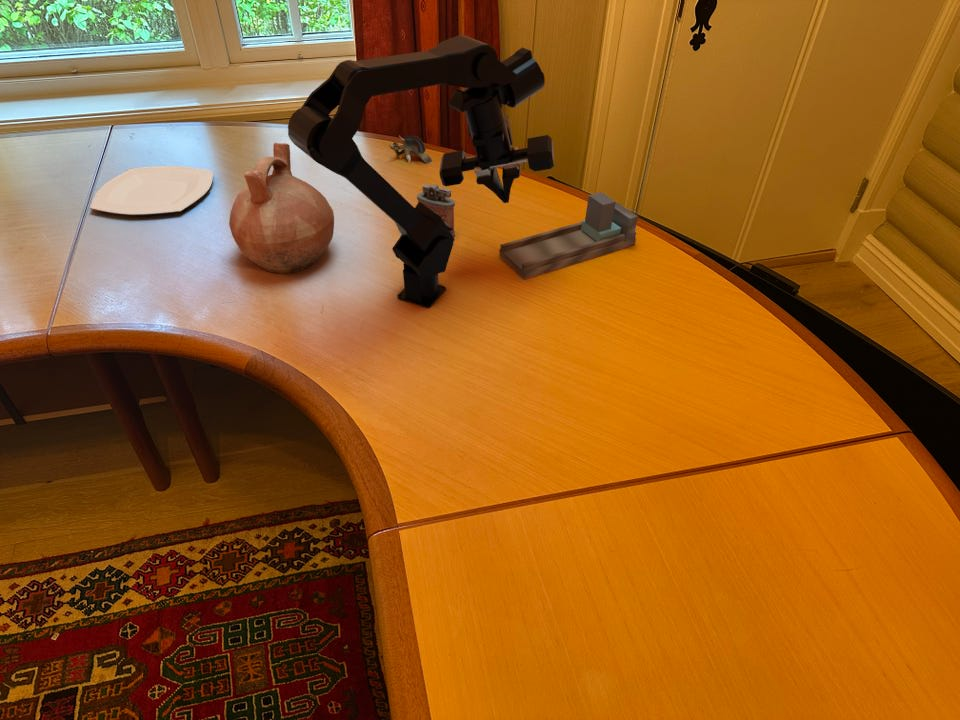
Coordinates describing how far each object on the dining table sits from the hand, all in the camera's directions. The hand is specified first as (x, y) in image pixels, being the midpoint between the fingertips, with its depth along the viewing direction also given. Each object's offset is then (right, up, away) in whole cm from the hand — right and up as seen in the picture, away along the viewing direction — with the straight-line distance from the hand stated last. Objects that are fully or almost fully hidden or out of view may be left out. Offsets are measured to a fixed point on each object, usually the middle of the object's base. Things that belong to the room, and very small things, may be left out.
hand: (506, 201), depth 106 cm
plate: (-75, +8, +26) cm, 80 cm away
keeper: (+19, -3, +14) cm, 24 cm away
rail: (+12, -7, +12) cm, 18 cm away
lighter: (-13, -2, +16) cm, 21 cm away
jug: (-41, -9, +9) cm, 42 cm away
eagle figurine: (-21, +21, +42) cm, 52 cm away
